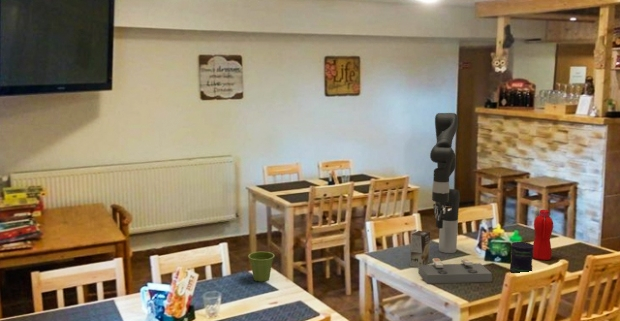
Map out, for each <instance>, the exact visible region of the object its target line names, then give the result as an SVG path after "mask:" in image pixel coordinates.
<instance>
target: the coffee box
mask: <svg viewBox="0 0 620 321" xmlns="http://www.w3.org/2000/svg"><path fill="white" fill-rule="evenodd" d="M430 240H431V231H426V230H417V231H415V232H414V233H411V245H410V248H411V249H410V264H409V266H410V267H412V268H413V267H414V268H419V265H429V263H430Z"/></svg>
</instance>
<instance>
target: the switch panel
mask: <svg viewBox="0 0 620 321" xmlns="http://www.w3.org/2000/svg"><path fill="white" fill-rule="evenodd" d="M442 264H443V267H438V268H437V267H436V266H435V264H434V263H431V264H427V265H419V267H418V275H419V276H420V277H421V279H422V280H423V281H424V282H425V284H428V285H430V284H432V285H433V284H434V285H435V284H462V283H463V284H464V283H466V284H467V283H469V284H470V283H491V282H492V280H493V278H492V277H493V274H492V272H491V271H490V270H489V269H487V267H485V266H484V265H483V264H482V263H481V262H480V263H473V265H465V264H464V263H462V262H460V263H453V264H451V263H449V264H447V263H446V264H445V263H442Z"/></svg>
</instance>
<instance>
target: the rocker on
mask: <svg viewBox="0 0 620 321" xmlns="http://www.w3.org/2000/svg"><path fill="white" fill-rule="evenodd" d="M460 263H464V264H465V265H473V264H474V263H473V261H471V260H469V259H467V258H466V259H463V258H462V259H460Z"/></svg>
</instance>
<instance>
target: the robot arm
mask: <svg viewBox="0 0 620 321" xmlns="http://www.w3.org/2000/svg"><path fill="white" fill-rule="evenodd" d="M434 126H435V138H436V143H435V145H434V146H433V147H432V148H431V151H430V153H429V157H430V160H431V161H432V162H433V163H436V164H437V167H436V168H435V169H434V170H433V181H432V192H431V193H432V195H431V200H432V201H433V202H435V203H433V205H432V206H433V213H434V214H433V215H434V217H435V227H436V228H437V229H439V236H438V251H439V252H440V253H446V254H454V253H456V252H457V248H458V247H457V244H458V228H459V227H458V225H459V224H458V223H459V208H460V199H461V197H460V196H461V194H460V190H459V189H453V188H450V178H451V175H452V174H453V172H455V169H456V166H457V163H456V161H457V159H456V153H455V151H454V149H453V148H452V145H453V139H454V137H455V136H456V133H457V130H458V127H459V117H458V114H457V113H456V112H438V113H436V115H435V117H434ZM446 207H449V208H450V207H451V208H450V210H448V209H446Z"/></svg>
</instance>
